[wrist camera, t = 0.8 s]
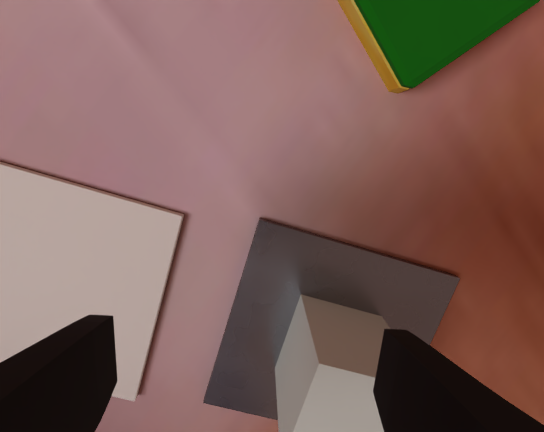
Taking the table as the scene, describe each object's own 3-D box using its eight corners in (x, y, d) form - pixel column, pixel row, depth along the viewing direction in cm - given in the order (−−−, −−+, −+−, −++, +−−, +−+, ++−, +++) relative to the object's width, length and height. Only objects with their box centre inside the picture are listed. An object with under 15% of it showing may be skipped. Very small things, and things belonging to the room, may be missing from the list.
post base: (381, 438, 22) (412, 513, 17) (204, 396, 20) (189, 465, 16) (455, 274, 19) (512, 313, 15) (259, 217, 18) (259, 241, 14)
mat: (137, 395, 20) (134, 401, 20) (-66, 348, 19) (-75, 353, 19) (184, 214, 18) (182, 216, 17) (-45, 148, 17) (-55, 148, 16)
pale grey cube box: (352, 387, 20) (390, 487, 14) (274, 368, 20) (280, 463, 14) (381, 316, 19) (435, 392, 13) (300, 294, 19) (319, 363, 13)
